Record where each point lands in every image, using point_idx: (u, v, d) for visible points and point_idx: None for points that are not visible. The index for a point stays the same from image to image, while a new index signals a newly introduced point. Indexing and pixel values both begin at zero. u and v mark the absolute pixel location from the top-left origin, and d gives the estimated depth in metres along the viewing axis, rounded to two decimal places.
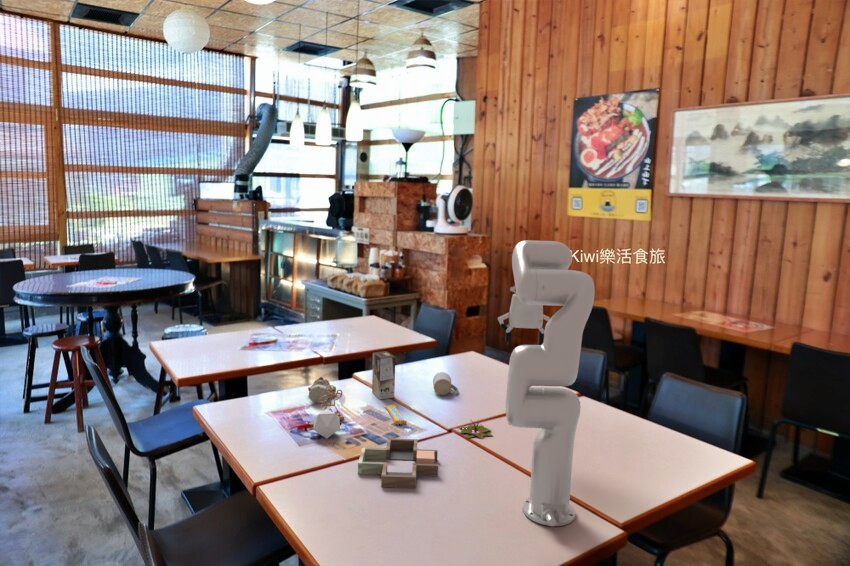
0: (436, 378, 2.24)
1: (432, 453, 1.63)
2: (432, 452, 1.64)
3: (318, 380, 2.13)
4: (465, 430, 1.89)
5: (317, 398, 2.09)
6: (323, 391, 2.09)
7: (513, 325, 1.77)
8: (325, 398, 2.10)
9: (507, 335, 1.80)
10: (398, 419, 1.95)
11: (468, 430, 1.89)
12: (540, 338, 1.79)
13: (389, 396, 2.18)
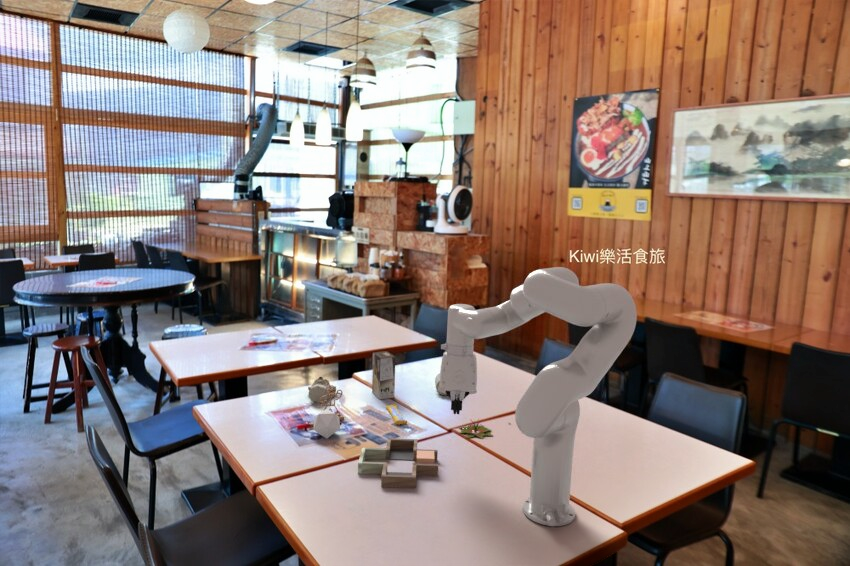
0: (438, 378, 2.24)
1: (432, 453, 1.63)
2: (432, 452, 1.64)
3: (318, 380, 2.13)
4: (465, 430, 1.89)
5: (317, 398, 2.09)
6: (322, 391, 2.09)
7: (443, 388, 1.57)
8: (324, 398, 2.10)
9: (452, 403, 1.60)
10: (399, 419, 1.95)
11: (468, 430, 1.89)
12: (458, 405, 1.59)
13: (389, 396, 2.18)
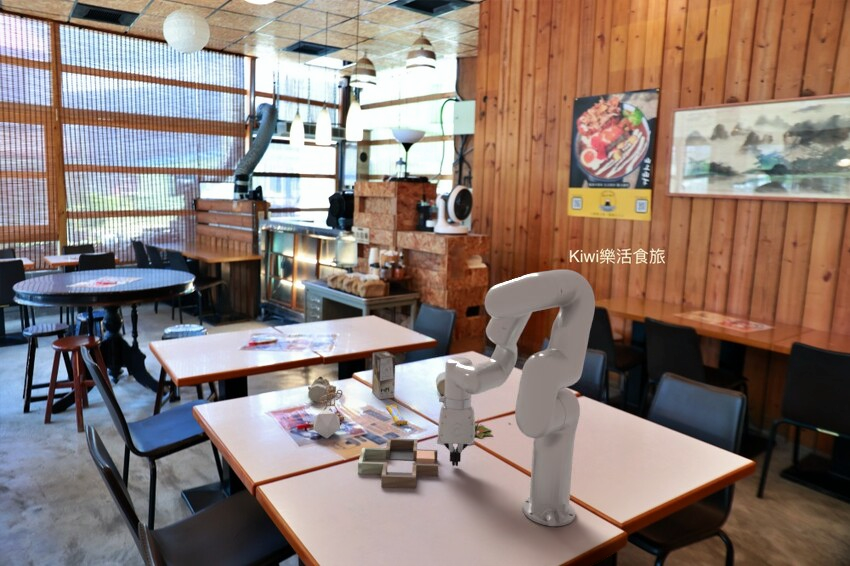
0: (439, 378, 2.24)
1: (432, 453, 1.63)
2: (432, 452, 1.64)
3: (317, 379, 2.13)
4: None
5: (316, 398, 2.10)
6: (322, 390, 2.09)
7: (441, 441, 1.59)
8: (324, 397, 2.10)
9: (451, 455, 1.62)
10: (399, 419, 1.94)
11: None
12: (456, 457, 1.61)
13: (389, 396, 2.18)
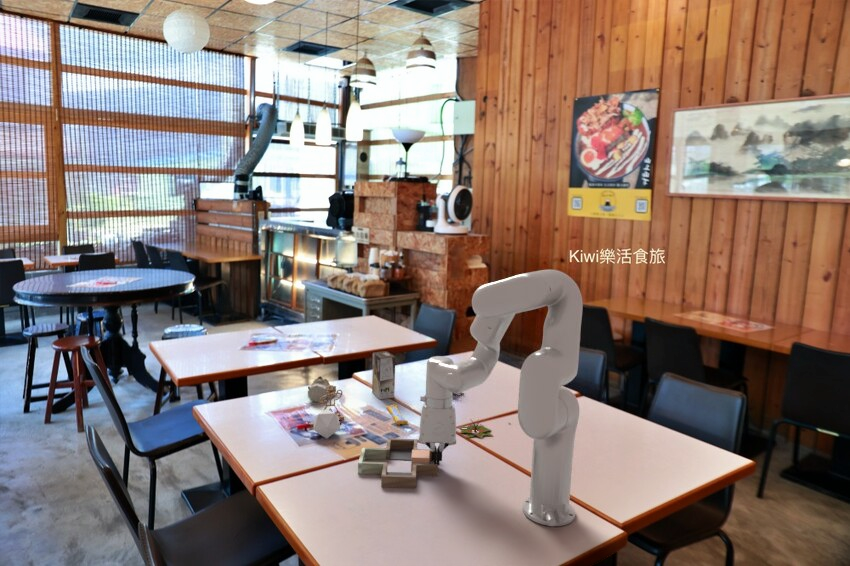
0: None
1: (427, 452, 1.63)
2: (427, 451, 1.64)
3: (317, 379, 2.13)
4: (465, 430, 1.89)
5: (316, 398, 2.10)
6: (321, 390, 2.09)
7: (422, 440, 1.59)
8: (323, 397, 2.11)
9: (433, 454, 1.62)
10: (399, 419, 1.94)
11: (468, 430, 1.89)
12: (438, 457, 1.61)
13: (389, 396, 2.18)
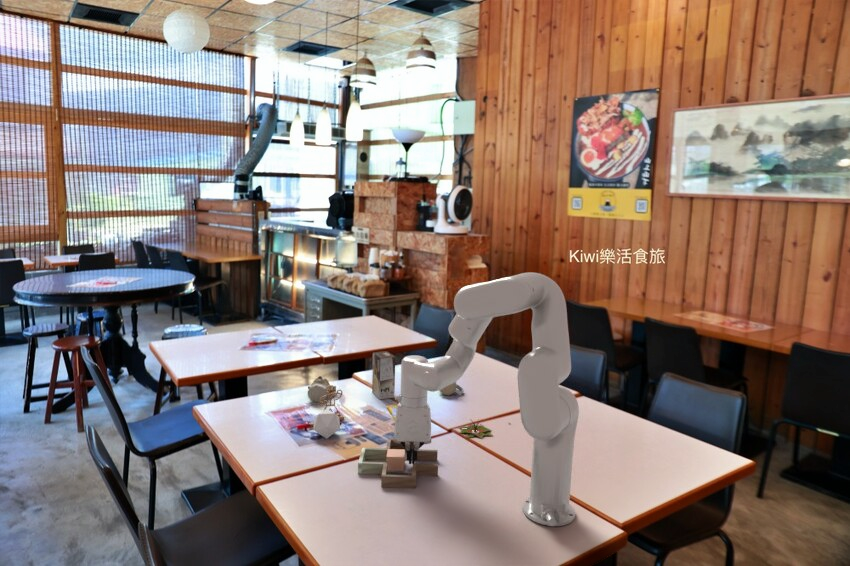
0: None
1: (402, 452, 1.63)
2: (403, 451, 1.64)
3: (317, 379, 2.14)
4: (465, 430, 1.89)
5: (315, 397, 2.10)
6: (321, 390, 2.10)
7: (397, 439, 1.59)
8: (323, 397, 2.11)
9: (408, 453, 1.62)
10: None
11: (468, 430, 1.89)
12: (413, 456, 1.61)
13: (389, 396, 2.18)
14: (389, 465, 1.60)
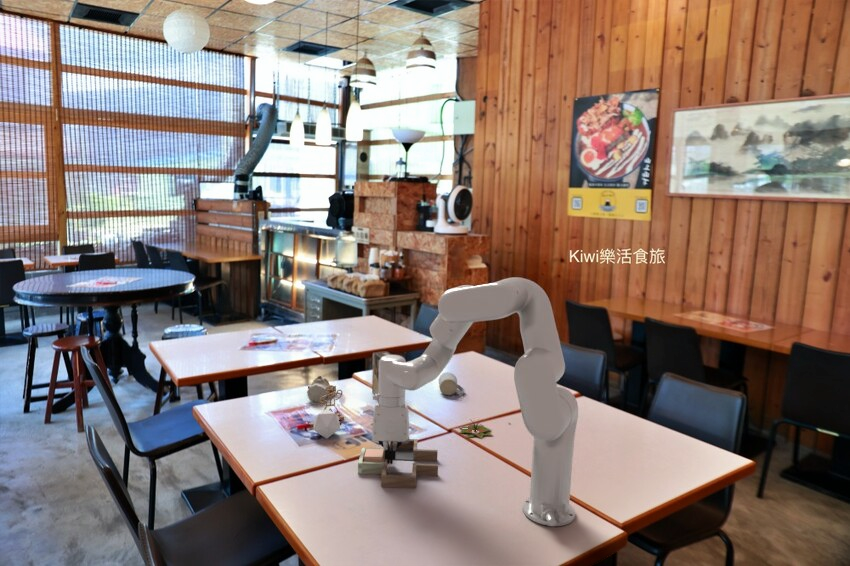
0: (442, 378, 2.24)
1: (381, 451, 1.63)
2: (381, 450, 1.64)
3: (317, 379, 2.14)
4: (465, 430, 1.89)
5: (315, 397, 2.10)
6: (321, 390, 2.10)
7: (375, 438, 1.59)
8: (323, 397, 2.11)
9: (386, 452, 1.62)
10: None
11: (468, 430, 1.90)
12: (391, 455, 1.61)
13: None
14: None
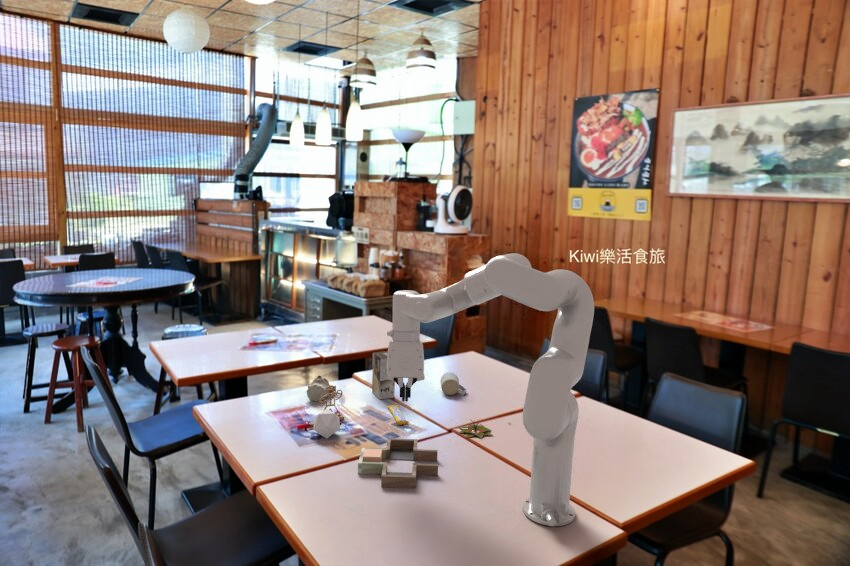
0: (444, 378, 2.24)
1: (379, 451, 1.63)
2: (380, 450, 1.64)
3: (316, 379, 2.14)
4: (465, 430, 1.89)
5: (314, 397, 2.11)
6: (320, 390, 2.10)
7: (390, 375, 1.56)
8: None
9: (401, 390, 1.59)
10: (400, 419, 1.94)
11: (468, 430, 1.90)
12: (406, 392, 1.58)
13: (389, 396, 2.18)
14: None
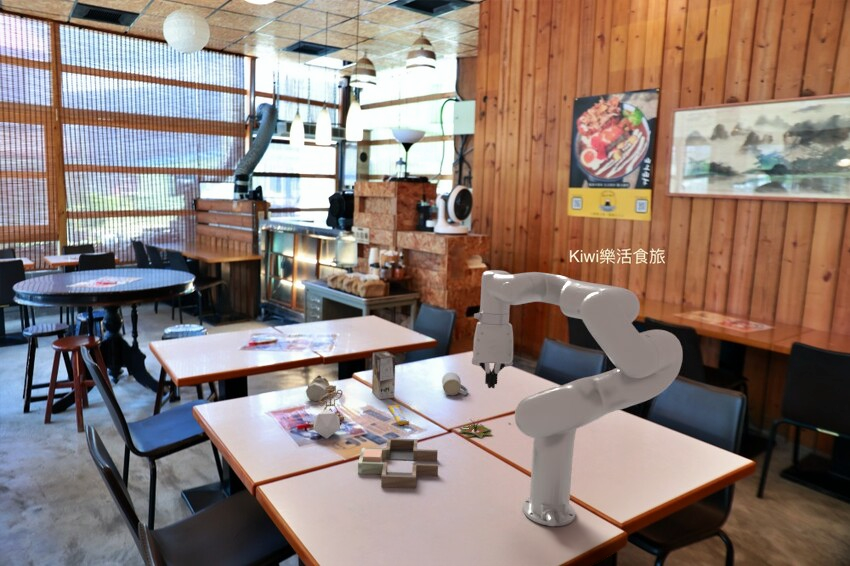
0: (445, 378, 2.24)
1: (379, 451, 1.63)
2: (380, 450, 1.64)
3: (316, 378, 2.15)
4: (465, 429, 1.89)
5: (313, 396, 2.11)
6: (319, 389, 2.10)
7: (477, 360, 1.47)
8: (321, 396, 2.12)
9: (487, 376, 1.50)
10: (401, 419, 1.94)
11: (468, 429, 1.90)
12: (493, 379, 1.49)
13: (389, 396, 2.18)
14: None
